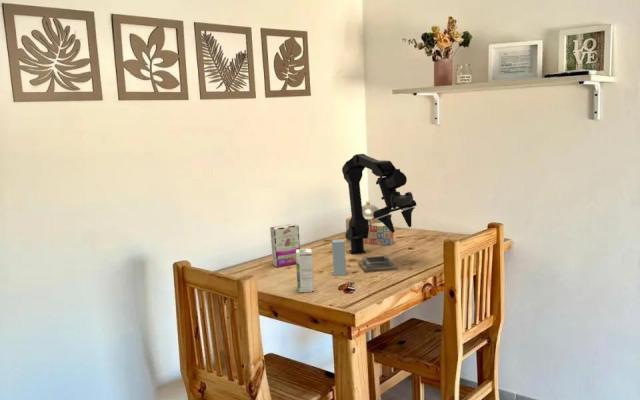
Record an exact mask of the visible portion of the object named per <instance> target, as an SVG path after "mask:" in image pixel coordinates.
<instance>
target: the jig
mask: <svg viewBox="0 0 640 400" xmlns="http://www.w3.org/2000/svg"><path fill="white" fill-rule="evenodd" d="M361 259H362V261H358V262H357V263H358V266H359V267H360V269H361V270H362V272H363V273H376V272H388V271H398V266H397V265H396V264H394V262H393V260H392V259H390V258H389V257H388V256H387V255H378V256H366V257H364V256H363V257H362V258H361Z"/></svg>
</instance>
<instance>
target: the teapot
mask: <svg viewBox="0 0 640 400" xmlns="http://www.w3.org/2000/svg"><path fill="white" fill-rule="evenodd" d="M376 210H379V208H378V207H377V206H375V205H374V204H371V201H369V200H367V201H365V204H363V205H362V212H363V216H364V217H374V216H373V213H374V211H376ZM377 219H379V218H375V219H374V223H382V222H381V221H380V220H377Z"/></svg>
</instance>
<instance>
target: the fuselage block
mask: <svg viewBox="0 0 640 400" xmlns="http://www.w3.org/2000/svg"><path fill="white" fill-rule="evenodd" d="M331 244H332V245H331V246H332V264H333V265H332V267H333V270H332V271H333V275H334V277H335V276H347V267H346V244H345V239H342V238H341V239H331Z"/></svg>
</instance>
